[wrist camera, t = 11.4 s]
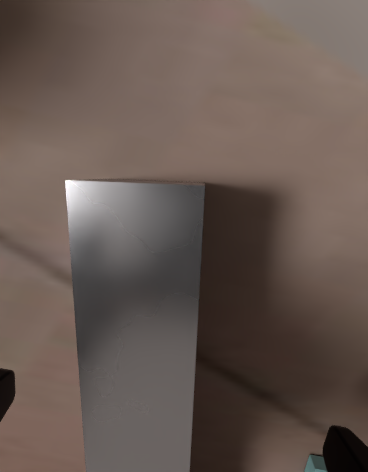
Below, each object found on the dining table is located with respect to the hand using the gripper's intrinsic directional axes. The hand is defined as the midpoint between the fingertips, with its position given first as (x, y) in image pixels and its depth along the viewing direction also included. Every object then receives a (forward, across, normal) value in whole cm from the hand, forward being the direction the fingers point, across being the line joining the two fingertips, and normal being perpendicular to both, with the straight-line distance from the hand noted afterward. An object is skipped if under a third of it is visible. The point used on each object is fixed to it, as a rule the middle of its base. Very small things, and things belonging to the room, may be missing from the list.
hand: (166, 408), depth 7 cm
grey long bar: (+3, +1, 0) cm, 3 cm away
